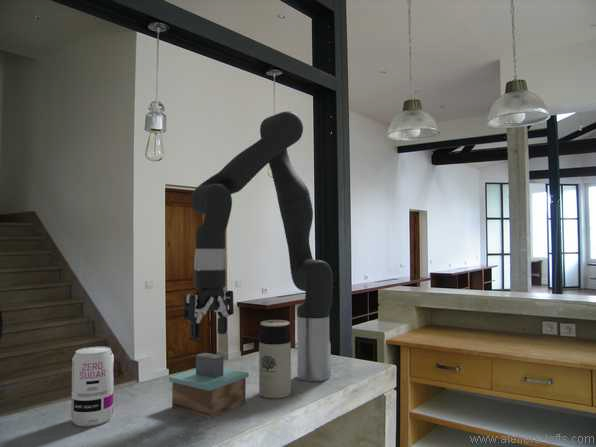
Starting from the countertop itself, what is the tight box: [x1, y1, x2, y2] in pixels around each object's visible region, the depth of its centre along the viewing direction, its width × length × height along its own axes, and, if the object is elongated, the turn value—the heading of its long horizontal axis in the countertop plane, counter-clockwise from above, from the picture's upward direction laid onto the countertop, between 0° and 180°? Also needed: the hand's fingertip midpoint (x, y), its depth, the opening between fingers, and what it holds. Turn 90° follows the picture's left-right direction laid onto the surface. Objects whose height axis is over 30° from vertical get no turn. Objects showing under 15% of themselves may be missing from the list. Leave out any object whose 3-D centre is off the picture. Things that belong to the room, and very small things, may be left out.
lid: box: [168, 352, 249, 391], centre depth 111 cm, size 13×13×7 cm
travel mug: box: [258, 319, 292, 400], centre depth 119 cm, size 8×8×18 cm
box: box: [171, 378, 247, 419], centre depth 111 cm, size 12×12×6 cm
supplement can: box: [70, 346, 115, 427], centre depth 101 cm, size 8×8×15 cm
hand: (209, 336), depth 111 cm, fingers open, 8 cm apart
